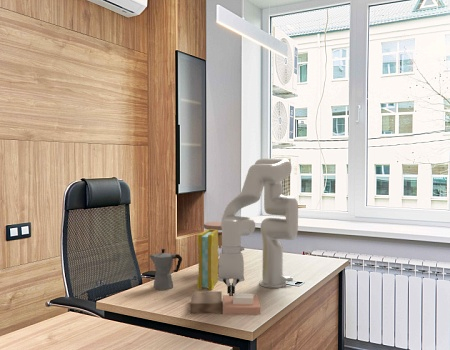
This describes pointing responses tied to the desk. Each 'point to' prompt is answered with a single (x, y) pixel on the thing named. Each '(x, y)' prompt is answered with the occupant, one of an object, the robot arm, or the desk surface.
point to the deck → (206, 302)
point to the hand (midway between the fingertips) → (231, 295)
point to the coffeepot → (164, 269)
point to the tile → (242, 298)
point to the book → (208, 259)
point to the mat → (240, 306)
